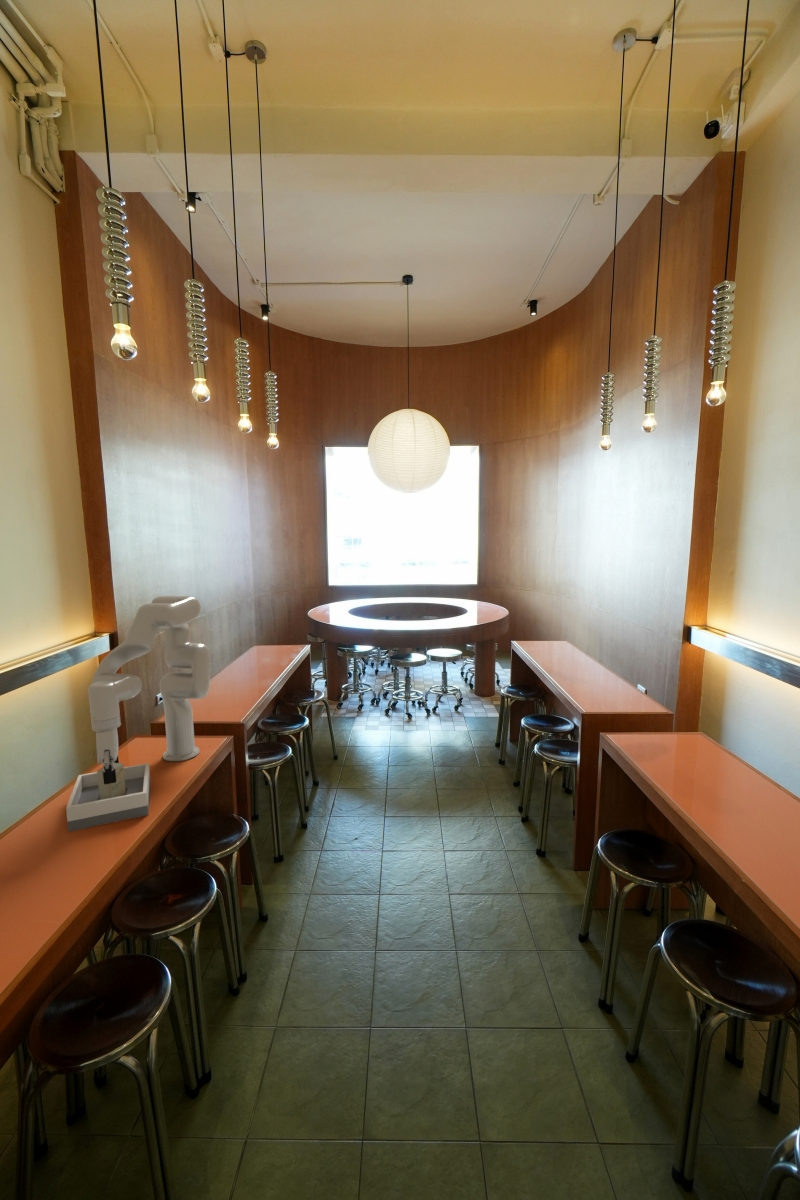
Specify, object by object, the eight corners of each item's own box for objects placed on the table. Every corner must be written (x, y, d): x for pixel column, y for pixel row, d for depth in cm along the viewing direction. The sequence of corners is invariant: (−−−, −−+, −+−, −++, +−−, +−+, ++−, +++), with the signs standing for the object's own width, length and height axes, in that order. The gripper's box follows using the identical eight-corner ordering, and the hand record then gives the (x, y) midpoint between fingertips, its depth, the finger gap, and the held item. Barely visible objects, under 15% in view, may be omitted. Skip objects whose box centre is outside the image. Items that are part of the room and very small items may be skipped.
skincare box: (112, 810, 154) (108, 772, 153) (99, 809, 155) (96, 771, 154) (127, 800, 160) (124, 763, 159) (115, 799, 161) (111, 761, 160)
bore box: (80, 796, 163) (78, 775, 162) (150, 783, 171) (148, 763, 170) (68, 831, 143) (66, 808, 142) (148, 815, 151) (146, 792, 151)
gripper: (95, 714, 161) (101, 766, 163) (87, 735, 145) (94, 791, 147) (122, 711, 164) (127, 761, 166) (117, 730, 148) (123, 786, 150)
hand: (111, 775), depth 157 cm, fingers open, 9 cm apart
